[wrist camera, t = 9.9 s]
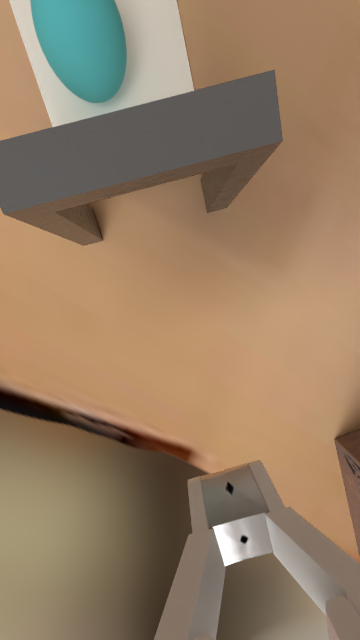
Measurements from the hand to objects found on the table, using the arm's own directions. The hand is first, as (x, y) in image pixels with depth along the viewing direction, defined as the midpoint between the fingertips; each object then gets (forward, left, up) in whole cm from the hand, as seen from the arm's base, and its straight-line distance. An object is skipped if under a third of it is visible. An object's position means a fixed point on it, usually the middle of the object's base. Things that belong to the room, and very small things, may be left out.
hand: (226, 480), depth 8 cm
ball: (+1, -26, -12) cm, 29 cm away
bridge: (0, -15, -15) cm, 21 cm away
